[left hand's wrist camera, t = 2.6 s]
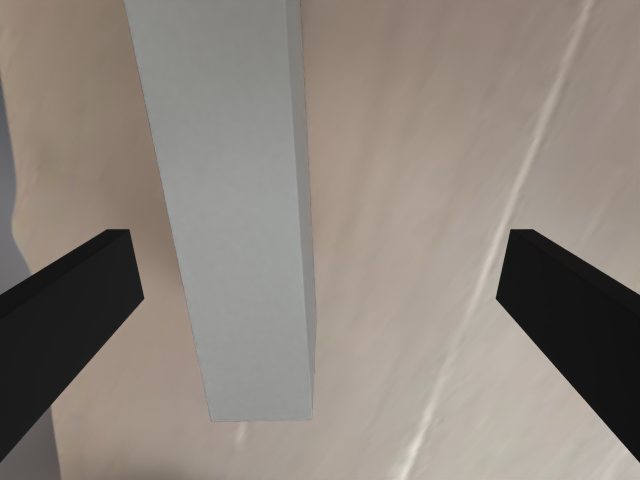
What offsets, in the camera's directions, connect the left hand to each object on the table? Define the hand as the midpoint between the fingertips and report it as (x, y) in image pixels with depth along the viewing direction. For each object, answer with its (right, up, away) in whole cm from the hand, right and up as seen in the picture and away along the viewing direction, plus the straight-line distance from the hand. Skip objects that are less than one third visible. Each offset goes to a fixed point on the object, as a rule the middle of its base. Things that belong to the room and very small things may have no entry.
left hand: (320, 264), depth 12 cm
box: (-4, +5, +18) cm, 20 cm away
